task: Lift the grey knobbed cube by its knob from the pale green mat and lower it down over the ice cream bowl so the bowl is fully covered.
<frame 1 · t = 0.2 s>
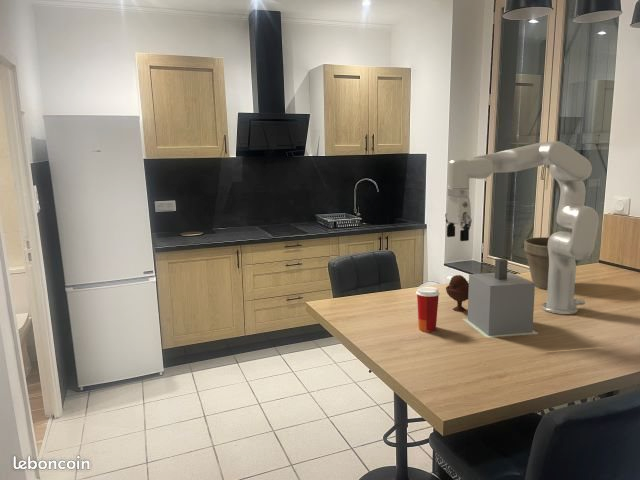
hand: (457, 238, 171), 31 cm above the table, tool pointing down, fingers open, 9 cm apart
grey knobbed cube: (498, 325, 165), resting on mat
mat: (498, 326, 166), on the table
plant pot: (550, 287, 215), on the table
ice cream bowl: (459, 311, 184), on the table
coffee cup: (427, 329, 165), on the table
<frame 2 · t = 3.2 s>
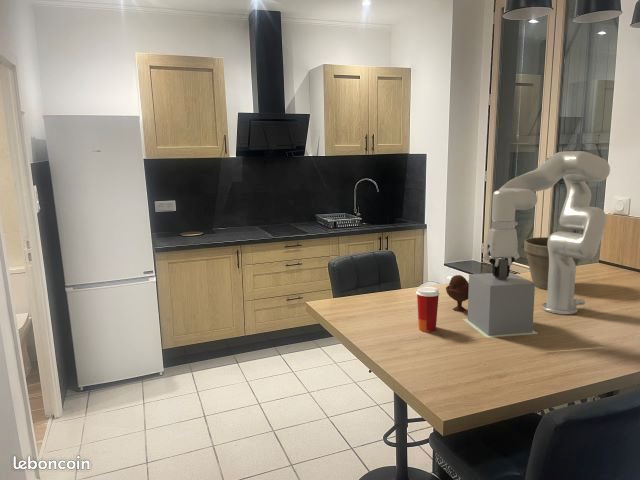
hand: (500, 275, 162), 19 cm above the table, tool pointing down, fingers closed on grey knobbed cube, 3 cm apart
grey knobbed cube: (498, 325, 166), resting on mat, touching gripper
everything else where it was.
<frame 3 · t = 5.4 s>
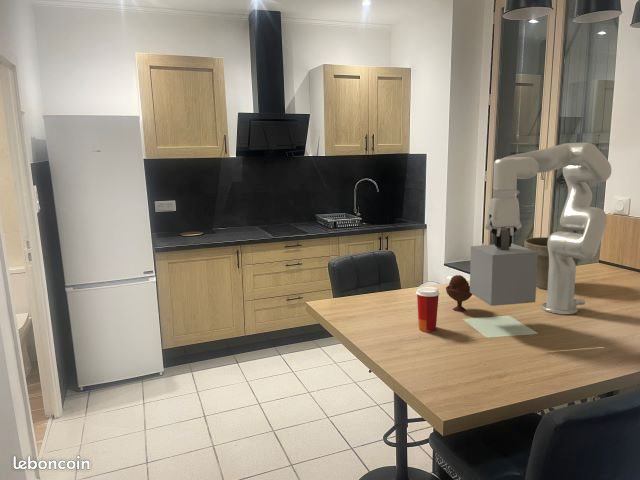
hand: (502, 246, 161), 30 cm above the table, tool pointing down, fingers closed on grey knobbed cube, 3 cm apart
grey knobbed cube: (501, 297, 164), point 11 cm above the table, touching gripper
everything else where it was.
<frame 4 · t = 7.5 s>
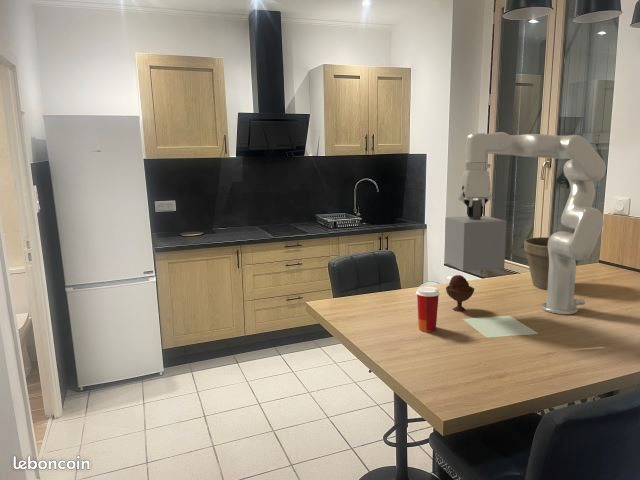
hand: (474, 216, 171), 39 cm above the table, tool pointing down, fingers closed on grey knobbed cube, 3 cm apart
grey knobbed cube: (473, 264, 175), point 20 cm above the table, touching gripper
everything else where it was.
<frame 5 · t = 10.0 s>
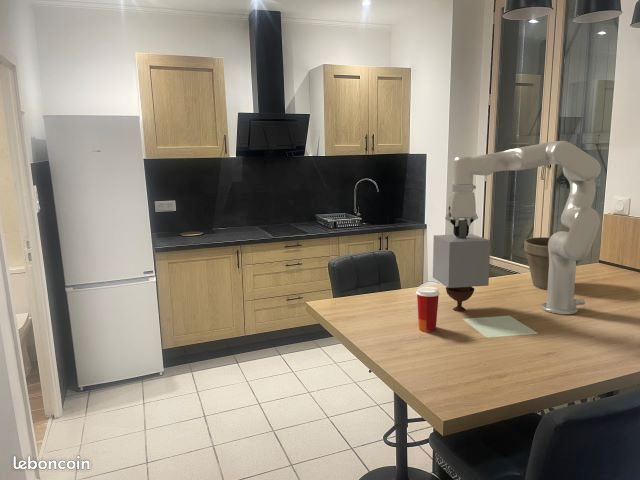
hand: (461, 235, 179), 31 cm above the table, tool pointing down, fingers closed on grey knobbed cube, 3 cm apart
grey knobbed cube: (459, 281, 182), point 12 cm above the table, touching gripper
everything else where it was.
when the fingers open (20 cm above the table, at t = 12.1 s): grey knobbed cube drops 2 cm, on the table.
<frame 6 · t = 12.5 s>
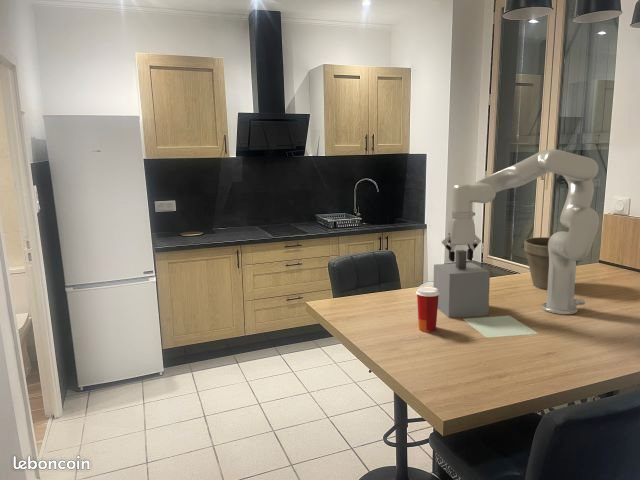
hand: (460, 260, 181), 21 cm above the table, tool pointing down, fingers open, 6 cm apart
grey knobbed cube: (459, 310, 184), on the table
everything else where it was.
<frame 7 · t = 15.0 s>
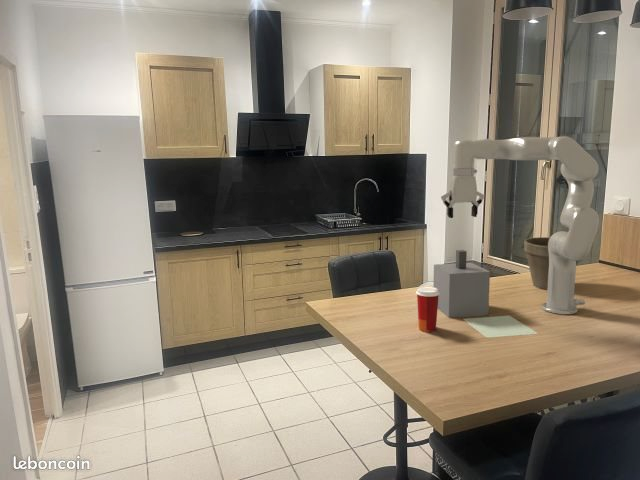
hand: (462, 217, 178), 38 cm above the table, tool pointing down, fingers open, 9 cm apart
nothing on the table moved.
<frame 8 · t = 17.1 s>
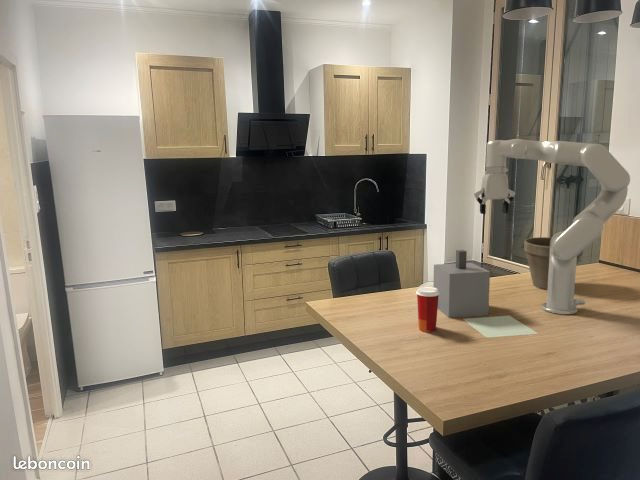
hand: (494, 213, 187), 38 cm above the table, tool pointing down, fingers open, 9 cm apart
nothing on the table moved.
at the end: grey knobbed cube 0.1 cm off-centre in the ice cream bowl, point 0.2 cm above the ice cream bowl's base; grey knobbed cube tilted 0°; grey knobbed cube touching table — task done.
